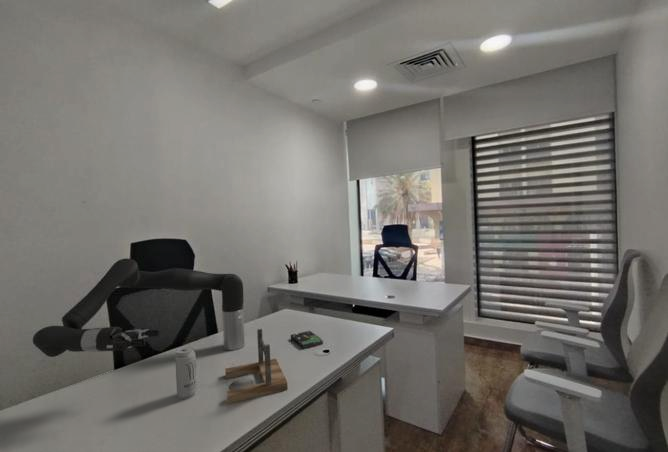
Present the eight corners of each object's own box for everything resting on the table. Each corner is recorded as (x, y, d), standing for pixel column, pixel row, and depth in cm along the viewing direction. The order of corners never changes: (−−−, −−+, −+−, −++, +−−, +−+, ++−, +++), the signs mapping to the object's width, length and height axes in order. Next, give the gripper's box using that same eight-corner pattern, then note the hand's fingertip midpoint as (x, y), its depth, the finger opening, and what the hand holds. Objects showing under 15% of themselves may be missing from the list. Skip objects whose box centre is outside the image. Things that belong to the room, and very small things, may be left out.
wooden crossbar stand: (225, 375, 116) (223, 334, 116) (276, 364, 123) (274, 325, 123) (228, 403, 97) (225, 354, 97) (287, 389, 104) (285, 343, 104)
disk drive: (290, 340, 149) (303, 350, 136) (290, 334, 149) (302, 344, 136) (309, 335, 154) (323, 345, 141) (309, 330, 154) (323, 339, 141)
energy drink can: (188, 401, 100) (185, 354, 99) (172, 398, 101) (170, 353, 101) (201, 391, 105) (199, 347, 105) (186, 388, 107) (184, 345, 107)
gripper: (117, 342, 109) (164, 340, 110) (86, 360, 95) (139, 357, 96) (117, 321, 109) (163, 319, 110) (85, 335, 95) (139, 333, 95)
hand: (152, 337), depth 103 cm, fingers open, 8 cm apart
